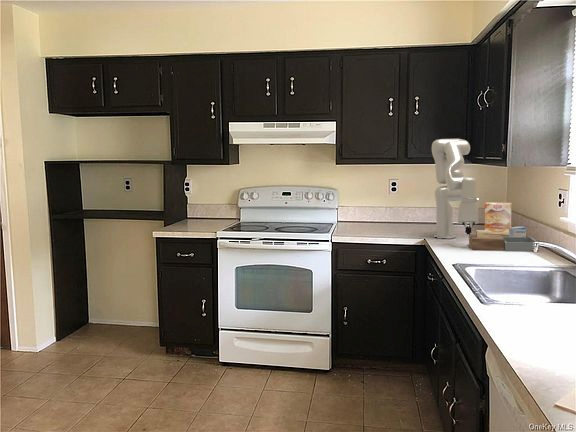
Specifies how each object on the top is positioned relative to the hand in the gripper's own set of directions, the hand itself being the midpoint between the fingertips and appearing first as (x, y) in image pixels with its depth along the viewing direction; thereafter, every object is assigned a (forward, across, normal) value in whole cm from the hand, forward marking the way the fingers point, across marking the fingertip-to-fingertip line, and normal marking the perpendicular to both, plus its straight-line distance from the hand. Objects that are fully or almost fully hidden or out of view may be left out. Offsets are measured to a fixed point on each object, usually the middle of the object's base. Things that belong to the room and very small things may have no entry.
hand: (468, 234), depth 270 cm
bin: (+7, -25, 0) cm, 26 cm away
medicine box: (+8, -28, -19) cm, 35 cm away
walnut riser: (+7, -9, 0) cm, 12 cm away
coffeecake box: (+8, -22, -50) cm, 55 cm away
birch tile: (+1, -7, 0) cm, 7 cm away
